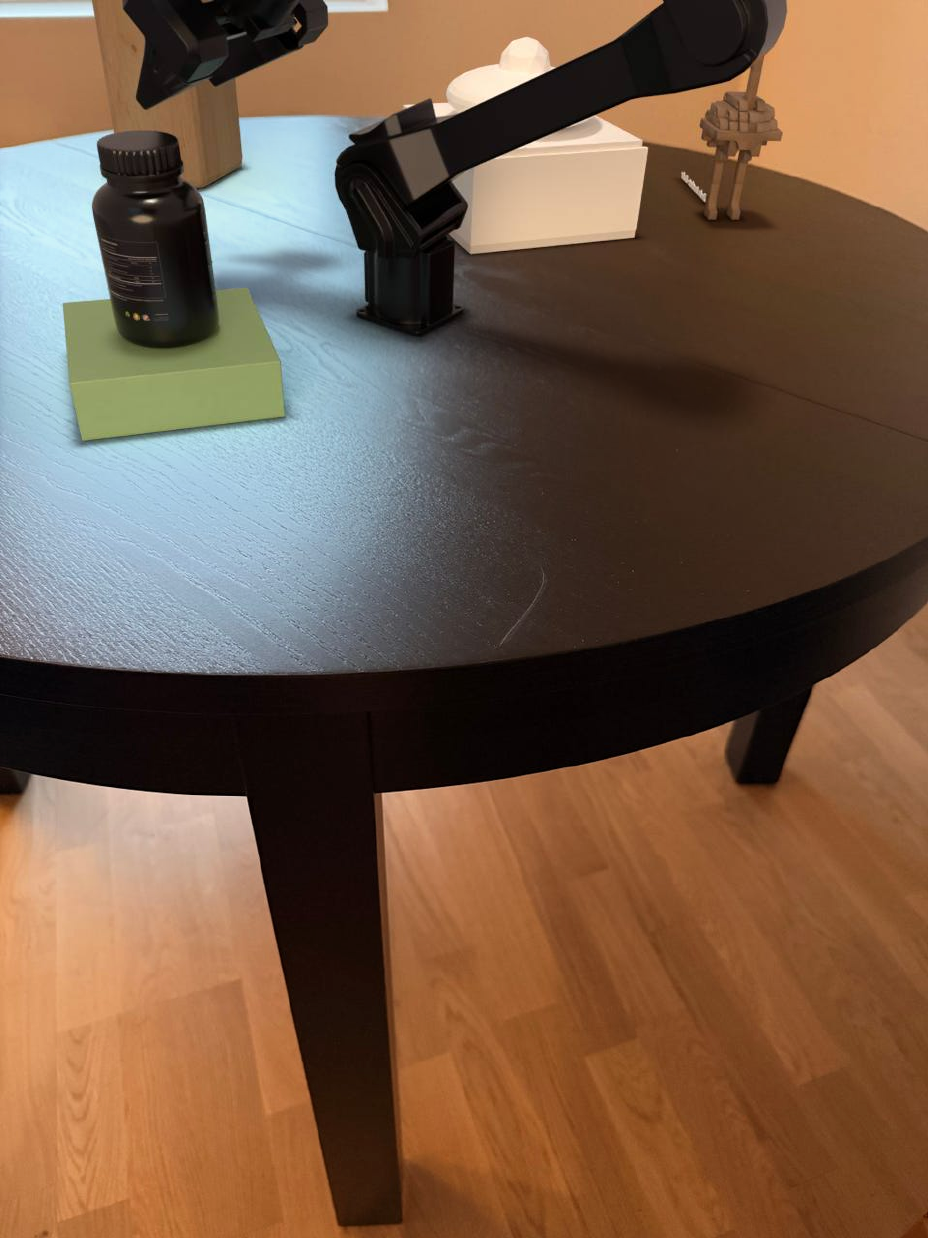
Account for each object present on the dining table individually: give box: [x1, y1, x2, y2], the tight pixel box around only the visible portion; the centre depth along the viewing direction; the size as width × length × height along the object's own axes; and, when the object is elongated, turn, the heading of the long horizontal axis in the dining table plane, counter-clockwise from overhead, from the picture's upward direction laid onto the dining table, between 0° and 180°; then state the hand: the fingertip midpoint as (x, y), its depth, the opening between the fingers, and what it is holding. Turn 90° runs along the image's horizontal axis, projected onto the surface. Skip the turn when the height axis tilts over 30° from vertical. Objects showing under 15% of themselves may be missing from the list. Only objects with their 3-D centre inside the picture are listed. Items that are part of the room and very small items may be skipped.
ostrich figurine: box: [680, 56, 784, 221], centre depth 102 cm, size 17×7×18 cm, turn 7°
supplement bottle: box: [91, 130, 219, 349], centre depth 64 cm, size 7×7×12 cm
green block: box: [62, 287, 286, 442], centre depth 69 cm, size 13×13×4 cm
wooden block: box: [91, 0, 244, 189], centre depth 102 cm, size 10×10×20 cm
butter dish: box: [402, 36, 649, 255], centre depth 96 cm, size 18×18×16 cm
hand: (177, 92), depth 78 cm, fingers open, 9 cm apart
